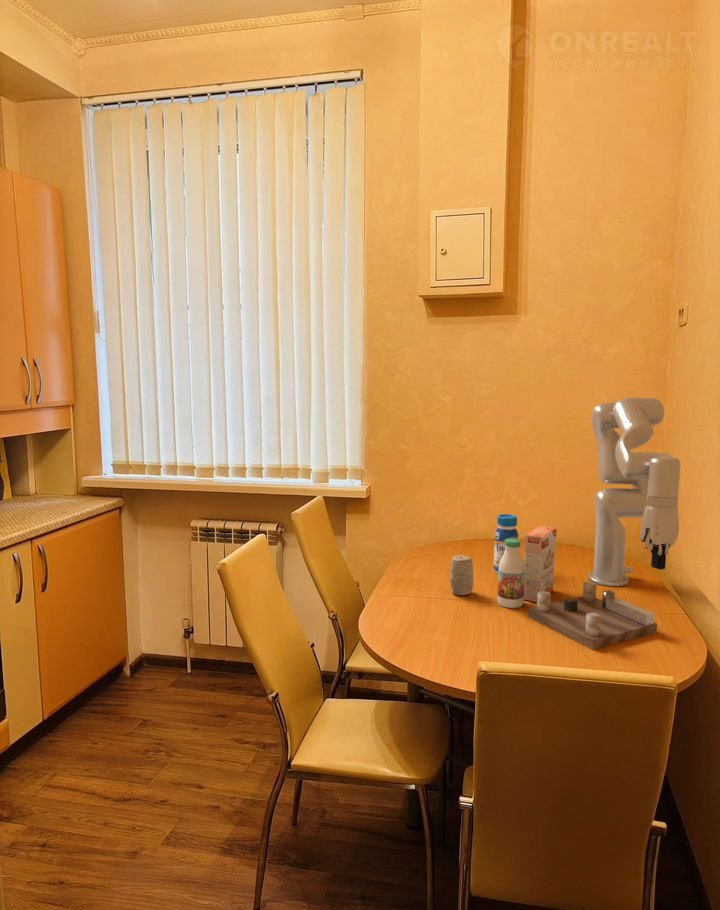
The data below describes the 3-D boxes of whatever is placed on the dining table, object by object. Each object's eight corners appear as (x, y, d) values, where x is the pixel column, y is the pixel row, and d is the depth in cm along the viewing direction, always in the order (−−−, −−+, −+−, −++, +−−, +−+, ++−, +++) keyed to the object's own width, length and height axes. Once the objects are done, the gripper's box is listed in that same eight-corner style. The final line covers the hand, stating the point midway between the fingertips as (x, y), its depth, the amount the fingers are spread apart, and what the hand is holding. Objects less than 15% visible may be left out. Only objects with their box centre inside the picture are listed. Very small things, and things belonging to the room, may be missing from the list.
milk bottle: (493, 599, 193) (496, 537, 191) (518, 599, 194) (520, 536, 191) (501, 609, 186) (504, 544, 183) (526, 608, 186) (529, 543, 184)
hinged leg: (599, 606, 181) (600, 591, 181) (607, 604, 183) (608, 589, 182) (645, 625, 167) (646, 609, 167) (653, 623, 169) (654, 607, 168)
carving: (445, 591, 200) (446, 555, 199) (466, 588, 203) (467, 553, 201) (455, 598, 194) (456, 561, 193) (476, 595, 197) (477, 558, 195)
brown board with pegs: (588, 603, 191) (589, 579, 190) (656, 632, 170) (658, 605, 169) (527, 616, 180) (528, 591, 179) (592, 649, 159) (594, 621, 158)
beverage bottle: (516, 568, 224) (518, 513, 221) (518, 576, 216) (520, 519, 213) (492, 567, 225) (494, 512, 223) (493, 574, 217) (495, 518, 214)
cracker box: (540, 603, 190) (543, 537, 187) (521, 599, 194) (523, 534, 191) (554, 590, 202) (557, 527, 199) (536, 587, 205) (538, 524, 202)
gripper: (668, 497, 175) (664, 561, 178) (631, 502, 169) (627, 568, 171) (693, 502, 169) (688, 568, 171) (655, 507, 162) (651, 575, 164)
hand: (658, 567), depth 171 cm, fingers closed
